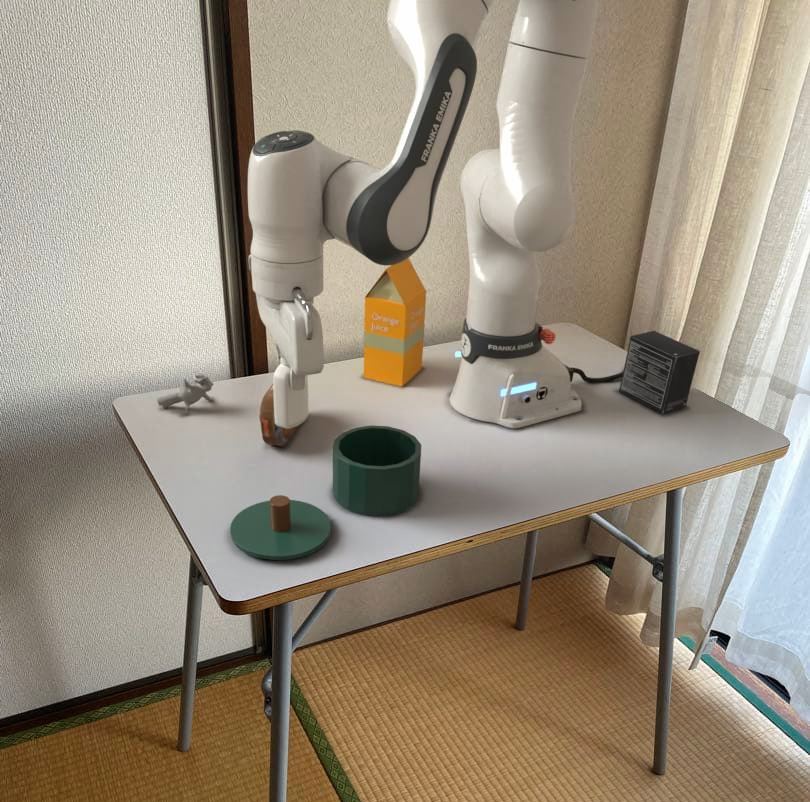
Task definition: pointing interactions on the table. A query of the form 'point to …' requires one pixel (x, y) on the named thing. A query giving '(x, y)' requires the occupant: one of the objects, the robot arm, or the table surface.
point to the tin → (272, 422)
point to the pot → (376, 470)
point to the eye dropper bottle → (288, 398)
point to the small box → (658, 371)
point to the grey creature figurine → (188, 393)
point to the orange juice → (394, 325)
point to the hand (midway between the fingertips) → (291, 378)
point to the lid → (280, 529)
